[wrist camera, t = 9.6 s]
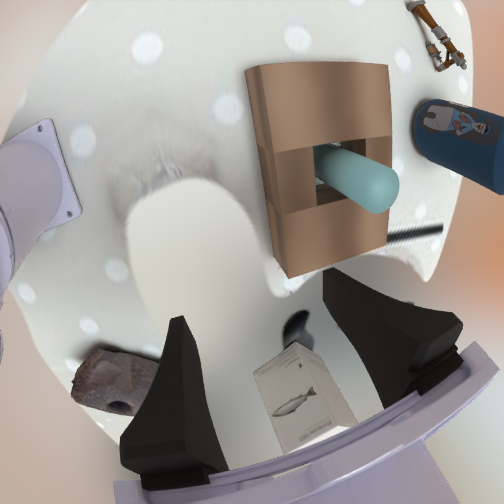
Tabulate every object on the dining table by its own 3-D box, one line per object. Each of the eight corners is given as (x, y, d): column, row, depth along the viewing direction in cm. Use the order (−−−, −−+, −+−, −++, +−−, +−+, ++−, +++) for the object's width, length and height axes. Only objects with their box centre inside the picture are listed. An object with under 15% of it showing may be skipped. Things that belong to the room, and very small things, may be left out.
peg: (305, 179, 22) (362, 219, 16) (300, 144, 21) (361, 172, 14) (336, 170, 23) (398, 206, 16) (332, 137, 21) (399, 162, 14)
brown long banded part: (440, 80, 19) (467, 68, 15) (395, 19, 18) (415, 0, 13) (448, 76, 19) (474, 65, 15) (404, 17, 18) (425, -2, 13)
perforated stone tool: (207, 364, 31) (219, 413, 25) (189, 386, 33) (198, 432, 27) (82, 329, 24) (72, 385, 18) (75, 357, 25) (68, 408, 20)
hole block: (274, 256, 25) (288, 279, 23) (244, 70, 16) (259, 65, 14) (364, 228, 27) (385, 245, 24) (360, 65, 18) (387, 64, 15)
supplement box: (294, 338, 33) (340, 424, 23) (321, 355, 37) (363, 427, 27) (250, 371, 34) (282, 456, 24) (281, 384, 38) (314, 455, 28)
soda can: (444, 157, 25) (526, 199, 16) (406, 159, 24) (503, 208, 14) (447, 101, 22) (537, 130, 12) (409, 93, 20) (516, 121, 10)
